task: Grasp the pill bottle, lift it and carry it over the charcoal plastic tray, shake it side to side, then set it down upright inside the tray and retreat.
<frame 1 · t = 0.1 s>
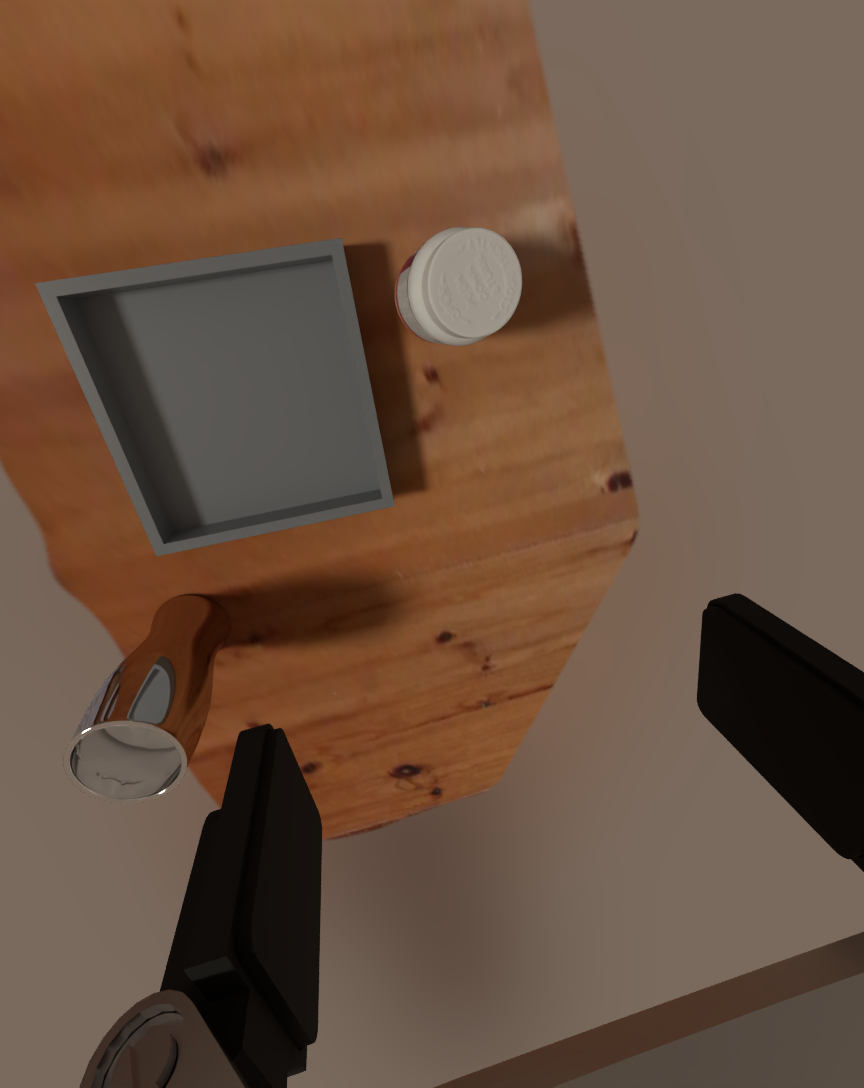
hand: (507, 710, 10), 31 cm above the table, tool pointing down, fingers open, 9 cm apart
beer glass: (193, 623, 42), on the table
tray: (248, 404, 36), on the table
pill bottle: (434, 297, 35), on the table
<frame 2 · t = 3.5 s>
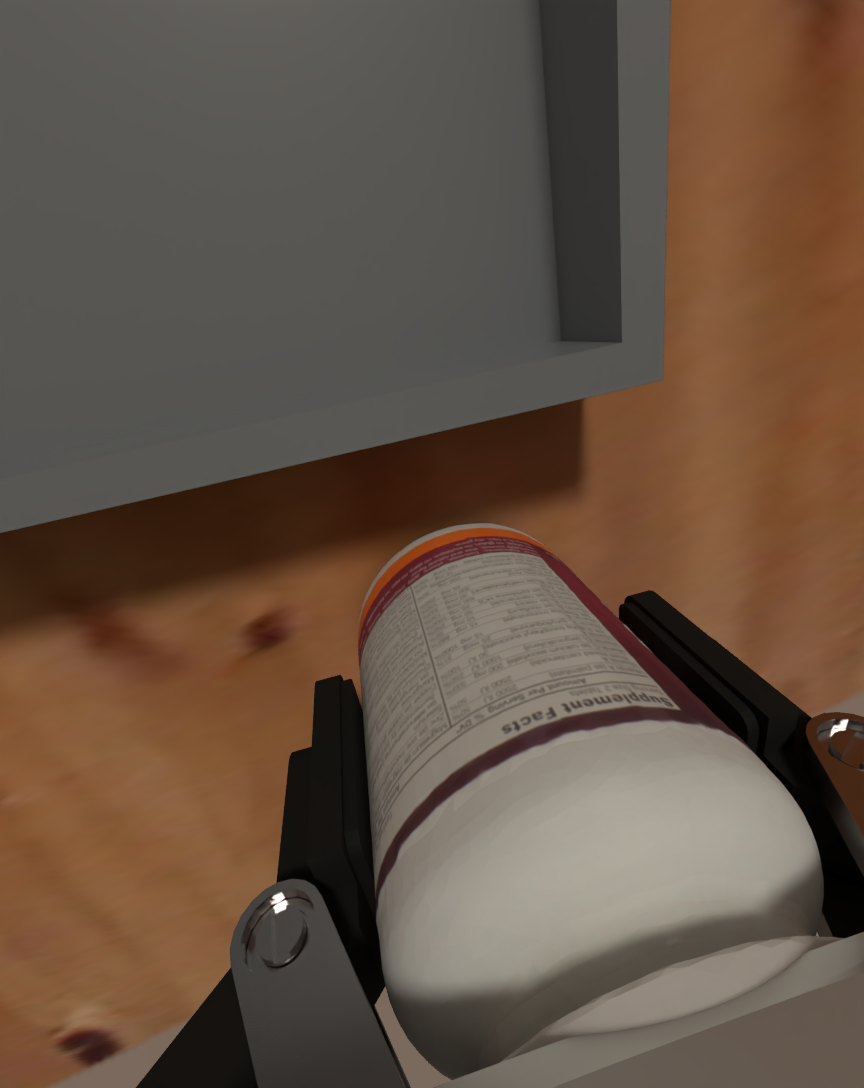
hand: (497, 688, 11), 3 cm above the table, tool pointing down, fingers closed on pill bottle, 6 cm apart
pill bottle: (461, 612, 14), on the table, touching gripper
when the fingers open (5 cm above the table, at t = 11.7 s): pill bottle drops 1 cm, resting on tray.
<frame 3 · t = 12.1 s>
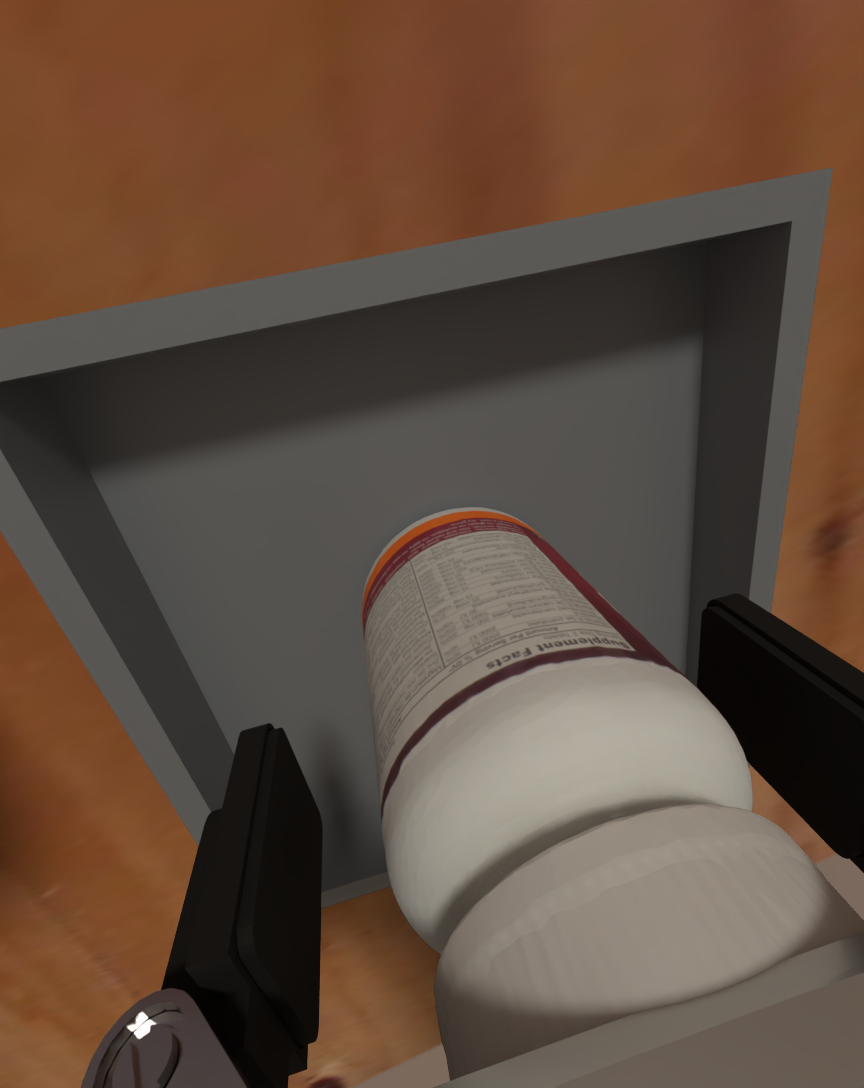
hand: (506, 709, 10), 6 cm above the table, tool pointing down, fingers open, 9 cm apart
tray: (448, 583, 16), on the table
pill bottle: (456, 590, 15), resting on tray
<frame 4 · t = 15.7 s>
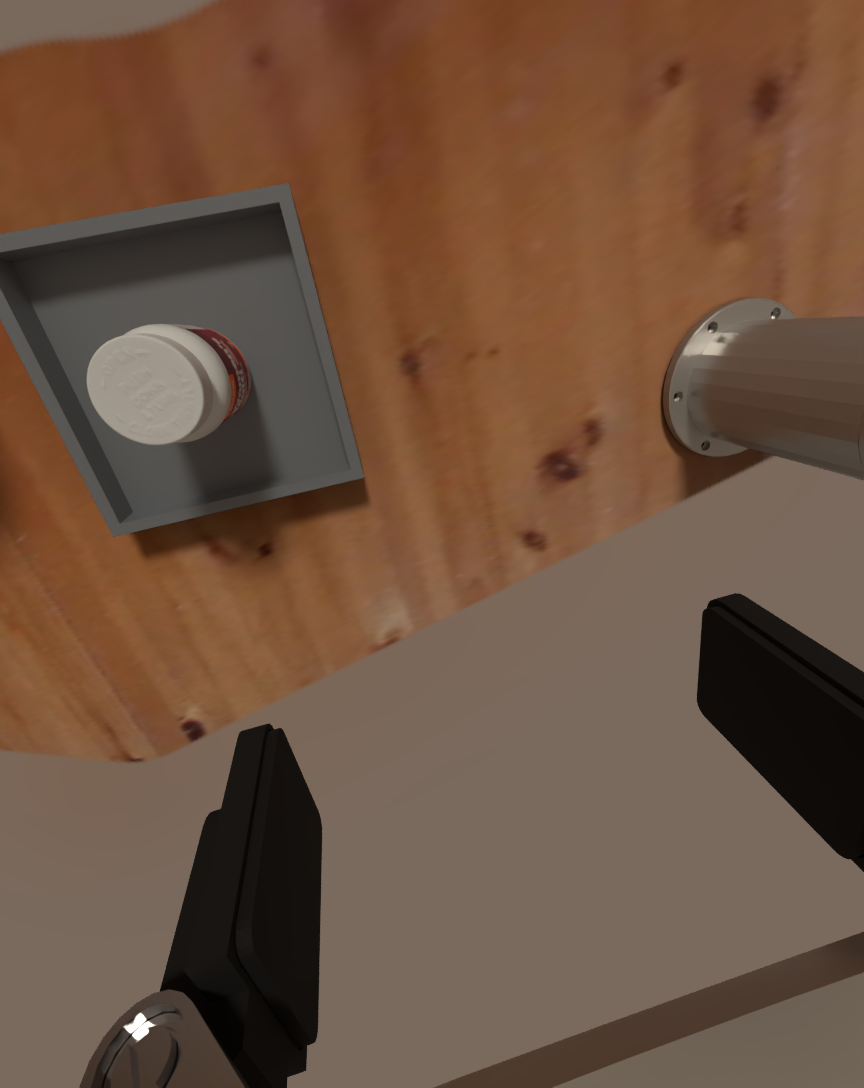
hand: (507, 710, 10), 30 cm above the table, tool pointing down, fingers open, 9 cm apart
tray: (204, 373, 34), on the table
pill bottle: (205, 374, 33), resting on tray
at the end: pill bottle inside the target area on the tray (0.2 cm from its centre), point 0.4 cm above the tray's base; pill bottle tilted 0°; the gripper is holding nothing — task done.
